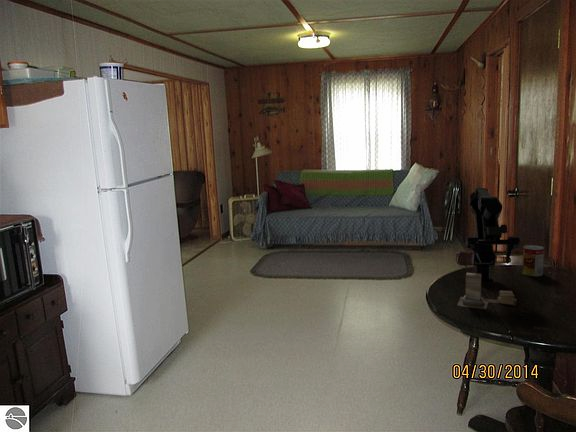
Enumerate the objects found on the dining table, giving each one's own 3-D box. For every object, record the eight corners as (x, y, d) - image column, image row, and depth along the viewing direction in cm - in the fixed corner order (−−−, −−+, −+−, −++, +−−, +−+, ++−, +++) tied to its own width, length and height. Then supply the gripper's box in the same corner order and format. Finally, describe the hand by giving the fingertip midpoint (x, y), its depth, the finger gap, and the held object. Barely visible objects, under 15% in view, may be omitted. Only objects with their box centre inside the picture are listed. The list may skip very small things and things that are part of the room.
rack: (462, 294, 185) (462, 288, 184) (516, 300, 176) (516, 294, 175) (456, 307, 172) (457, 301, 172) (514, 314, 163) (514, 307, 163)
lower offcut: (499, 297, 178) (499, 293, 178) (514, 298, 175) (514, 295, 175) (498, 302, 173) (498, 298, 172) (513, 304, 170) (513, 300, 170)
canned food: (529, 269, 211) (530, 244, 208) (546, 273, 204) (547, 247, 202) (518, 273, 207) (519, 247, 204) (536, 277, 200) (537, 250, 198)
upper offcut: (499, 294, 177) (499, 290, 177) (512, 294, 176) (512, 291, 175) (500, 299, 172) (501, 295, 172) (514, 299, 171) (514, 295, 170)
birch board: (466, 300, 176) (467, 272, 174) (480, 302, 174) (481, 273, 172) (465, 303, 174) (465, 275, 172) (479, 304, 172) (480, 276, 170)
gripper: (467, 216, 178) (470, 254, 171) (521, 216, 173) (526, 255, 166) (464, 229, 187) (467, 265, 180) (515, 229, 183) (519, 266, 176)
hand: (494, 263), depth 175 cm, fingers open, 9 cm apart
